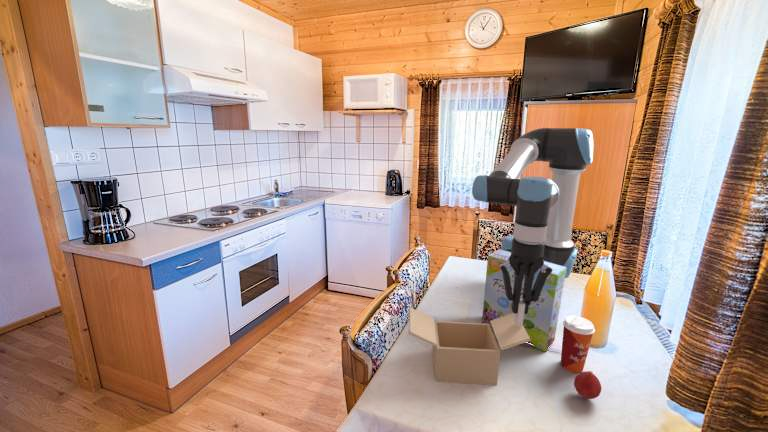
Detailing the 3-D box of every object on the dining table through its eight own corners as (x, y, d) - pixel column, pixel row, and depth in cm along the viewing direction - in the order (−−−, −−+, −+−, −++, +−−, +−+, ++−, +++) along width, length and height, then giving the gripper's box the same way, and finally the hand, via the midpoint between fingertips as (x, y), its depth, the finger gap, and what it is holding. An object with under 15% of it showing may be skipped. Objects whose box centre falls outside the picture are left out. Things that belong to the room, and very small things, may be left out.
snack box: (479, 325, 117) (486, 254, 111) (491, 315, 124) (498, 247, 117) (546, 354, 103) (558, 274, 97) (556, 341, 109) (568, 265, 103)
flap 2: (489, 320, 100) (490, 323, 100) (500, 347, 88) (501, 350, 88) (515, 311, 99) (516, 314, 99) (529, 337, 87) (531, 340, 87)
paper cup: (575, 379, 93) (583, 333, 89) (550, 362, 100) (557, 318, 96) (593, 370, 97) (602, 325, 93) (568, 354, 103) (575, 312, 100)
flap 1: (410, 307, 101) (409, 309, 101) (410, 331, 89) (408, 334, 89) (433, 318, 101) (432, 320, 101) (436, 344, 89) (435, 346, 89)
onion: (567, 390, 89) (571, 363, 87) (588, 388, 90) (593, 362, 88) (581, 407, 84) (586, 379, 82) (603, 406, 84) (609, 378, 82)
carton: (486, 353, 103) (489, 323, 101) (496, 385, 91) (500, 352, 88) (432, 350, 104) (433, 320, 102) (434, 381, 92) (436, 348, 89)
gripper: (549, 236, 90) (538, 317, 96) (498, 234, 91) (490, 314, 97) (561, 245, 83) (548, 333, 89) (505, 243, 84) (496, 330, 90)
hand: (518, 323), depth 93 cm, fingers closed
